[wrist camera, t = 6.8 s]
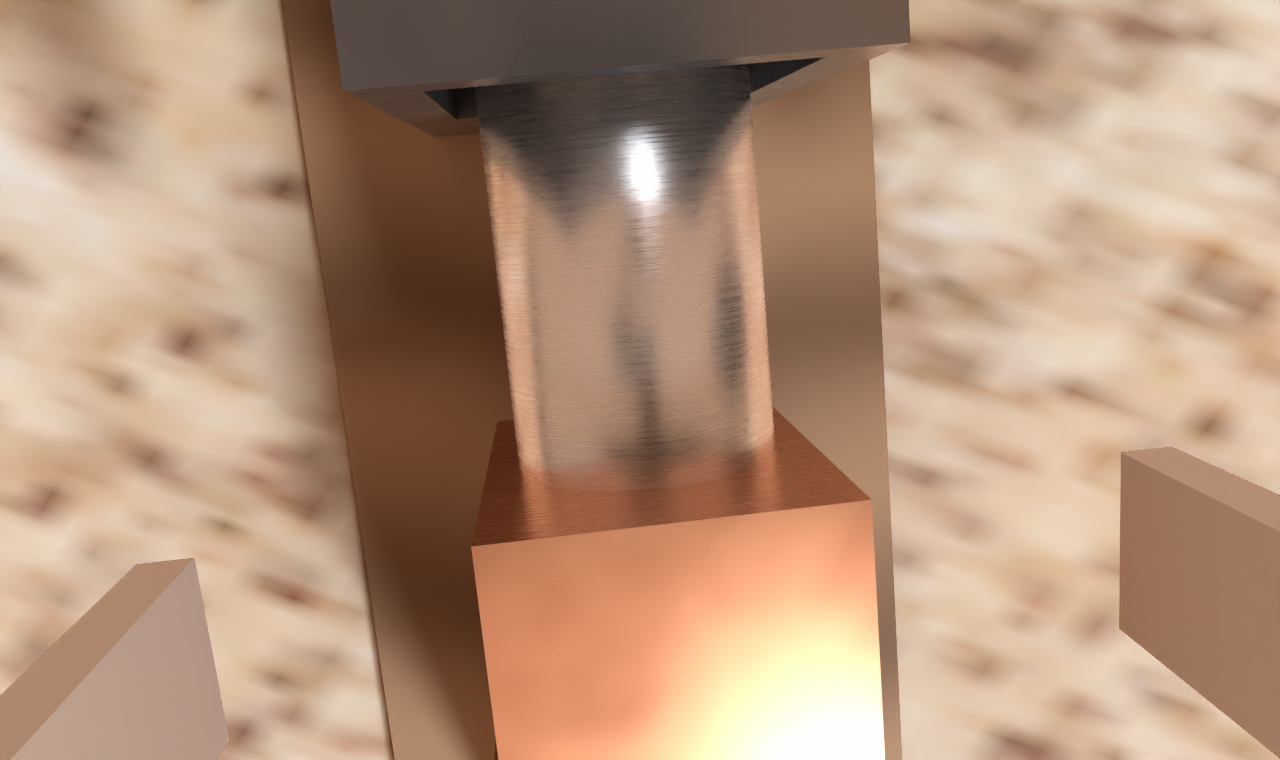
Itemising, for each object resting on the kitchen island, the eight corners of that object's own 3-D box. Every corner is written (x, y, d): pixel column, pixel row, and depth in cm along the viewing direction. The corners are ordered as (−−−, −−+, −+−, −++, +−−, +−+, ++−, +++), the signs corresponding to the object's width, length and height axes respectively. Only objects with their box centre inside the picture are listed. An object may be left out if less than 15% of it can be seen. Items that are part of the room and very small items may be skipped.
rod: (440, -56, 18) (373, -212, 11) (725, -78, 18) (834, -241, 11) (545, 825, 21) (546, 1134, 14) (786, 793, 21) (900, 1077, 14)
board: (235, -371, 20) (223, -394, 19) (834, -402, 21) (845, -425, 20) (422, 894, 25) (418, 916, 25) (895, 827, 26) (906, 846, 25)
